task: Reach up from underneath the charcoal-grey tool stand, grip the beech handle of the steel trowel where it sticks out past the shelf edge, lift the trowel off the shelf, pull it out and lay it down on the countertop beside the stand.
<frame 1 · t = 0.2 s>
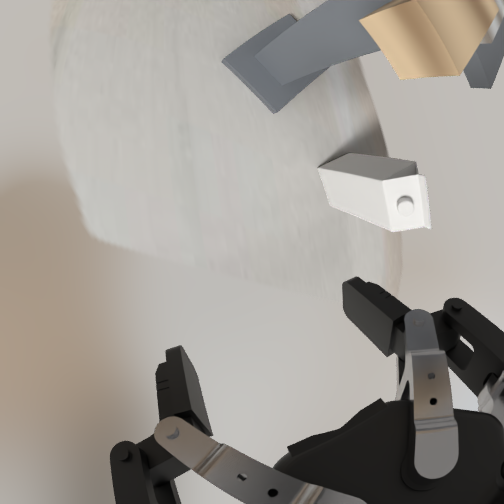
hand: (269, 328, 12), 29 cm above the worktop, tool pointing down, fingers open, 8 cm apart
trowel: (447, 0, 6), point 32 cm above the worktop, touching tool stand
tool stand: (279, 61, 33), on the worktop
milk carton: (338, 178, 44), on the worktop
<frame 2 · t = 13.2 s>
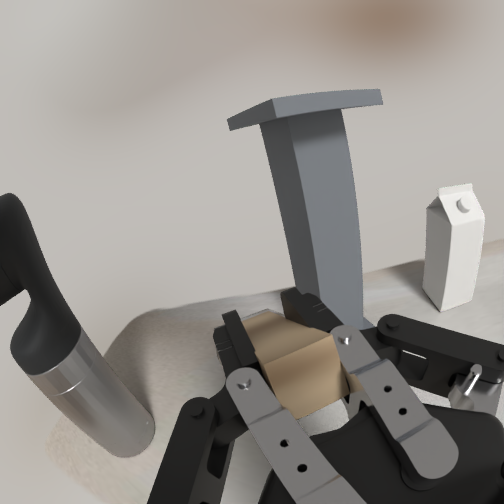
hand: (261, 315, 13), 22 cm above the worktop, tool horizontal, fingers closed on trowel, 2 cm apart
trowel: (270, 356, 16), point 18 cm above the worktop, tilted 29°, touching gripper
tool stand: (332, 338, 38), on the worktop
milk carton: (446, 296, 38), on the worktop
when the fingers open (12 cm above the worktop, at t = 15.5 s): trowel drops 8 cm, on the worktop.
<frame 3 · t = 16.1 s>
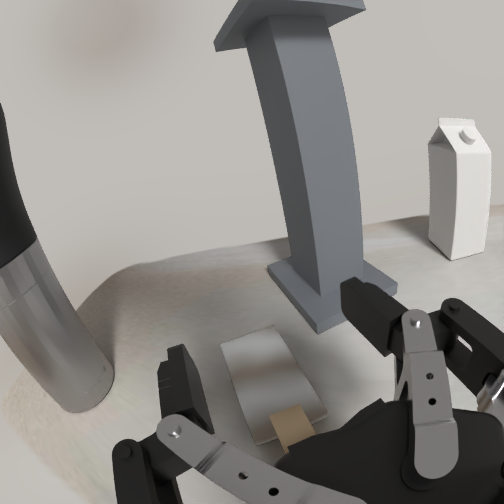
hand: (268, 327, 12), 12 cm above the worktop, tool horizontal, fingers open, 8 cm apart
trowel: (297, 441, 17), on the worktop
tool stand: (328, 283, 34), on the worktop
milk carton: (455, 247, 33), on the worktop
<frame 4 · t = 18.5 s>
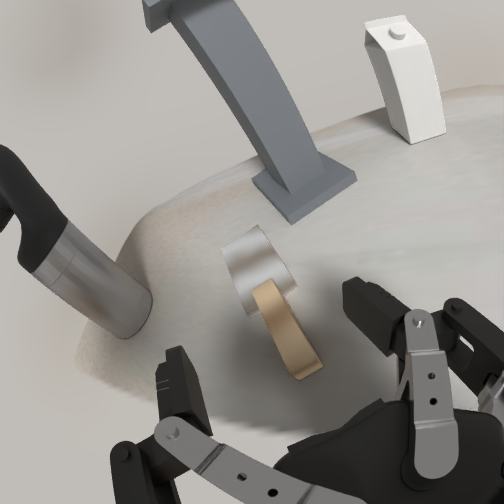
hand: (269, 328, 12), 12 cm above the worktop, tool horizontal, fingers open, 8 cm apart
trowel: (278, 309, 28), on the worktop
tool stand: (301, 182, 40), on the worktop
milk carton: (418, 131, 35), on the worktop
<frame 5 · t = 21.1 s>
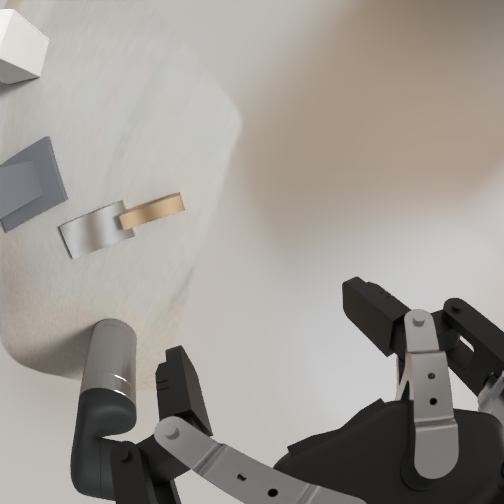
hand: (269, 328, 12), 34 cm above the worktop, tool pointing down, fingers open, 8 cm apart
trowel: (134, 215, 41), on the worktop
tool stand: (26, 185, 32), on the worktop
milk carton: (29, 62, 24), on the worktop
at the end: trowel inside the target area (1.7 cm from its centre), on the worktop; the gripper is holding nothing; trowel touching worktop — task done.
